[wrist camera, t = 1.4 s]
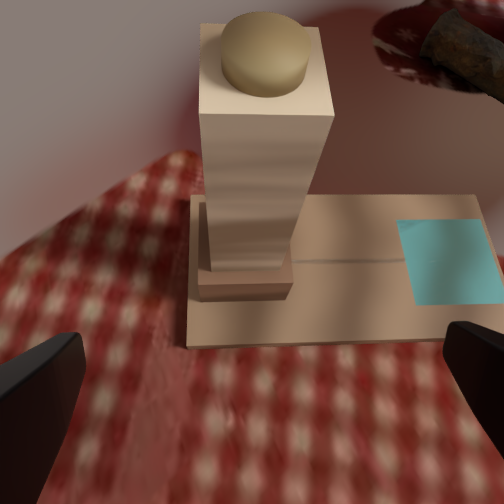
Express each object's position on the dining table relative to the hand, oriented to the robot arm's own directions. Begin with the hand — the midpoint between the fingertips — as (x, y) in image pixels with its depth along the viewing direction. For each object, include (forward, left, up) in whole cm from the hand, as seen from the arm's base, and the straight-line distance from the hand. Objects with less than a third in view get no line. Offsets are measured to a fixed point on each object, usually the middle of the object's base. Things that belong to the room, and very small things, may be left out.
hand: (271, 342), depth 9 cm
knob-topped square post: (+6, +5, -12) cm, 14 cm away
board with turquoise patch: (+10, 0, -13) cm, 17 cm away
